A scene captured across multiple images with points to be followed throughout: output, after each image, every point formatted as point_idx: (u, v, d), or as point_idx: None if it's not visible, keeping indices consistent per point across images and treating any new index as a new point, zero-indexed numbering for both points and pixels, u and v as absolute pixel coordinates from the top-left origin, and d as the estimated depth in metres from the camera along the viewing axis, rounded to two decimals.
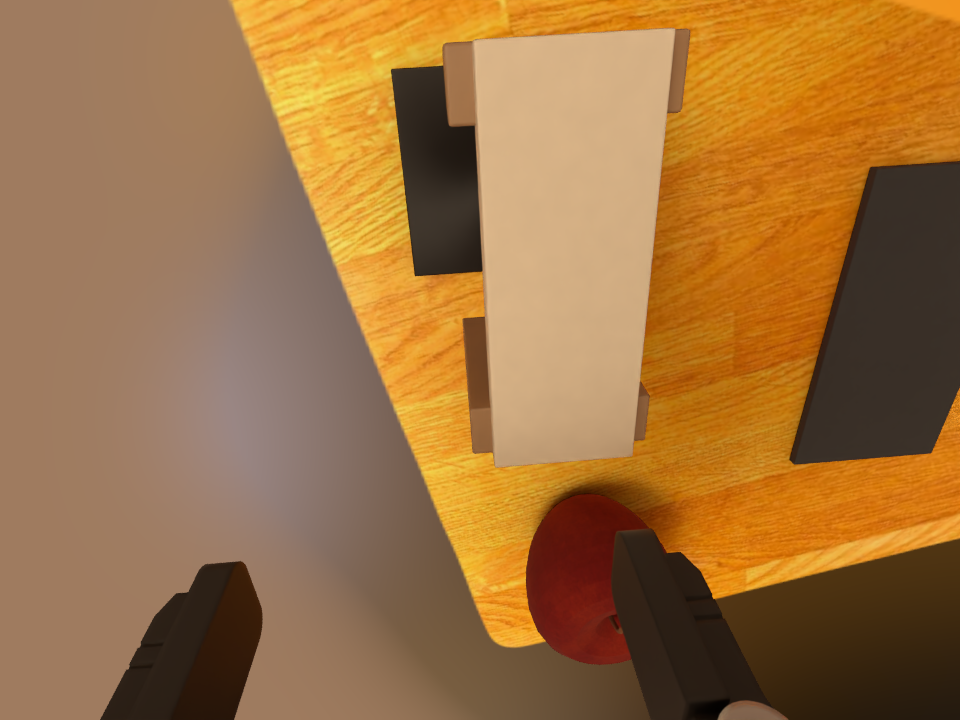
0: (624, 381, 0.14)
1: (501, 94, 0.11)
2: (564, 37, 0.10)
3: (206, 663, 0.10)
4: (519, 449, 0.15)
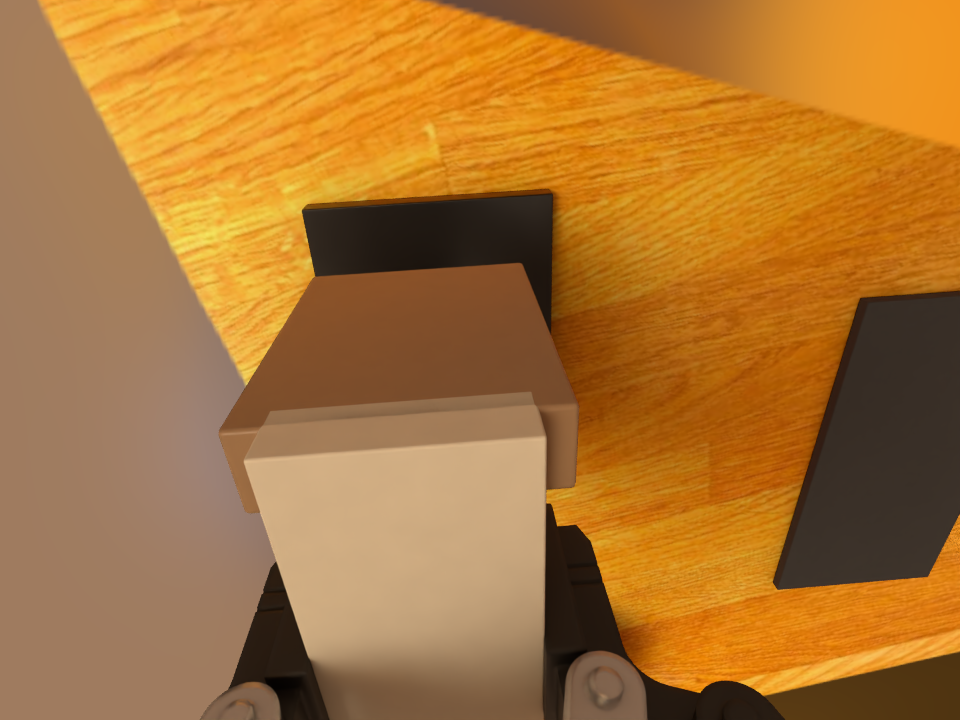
0: None
1: (297, 513, 0.07)
2: (378, 456, 0.07)
3: None
4: None
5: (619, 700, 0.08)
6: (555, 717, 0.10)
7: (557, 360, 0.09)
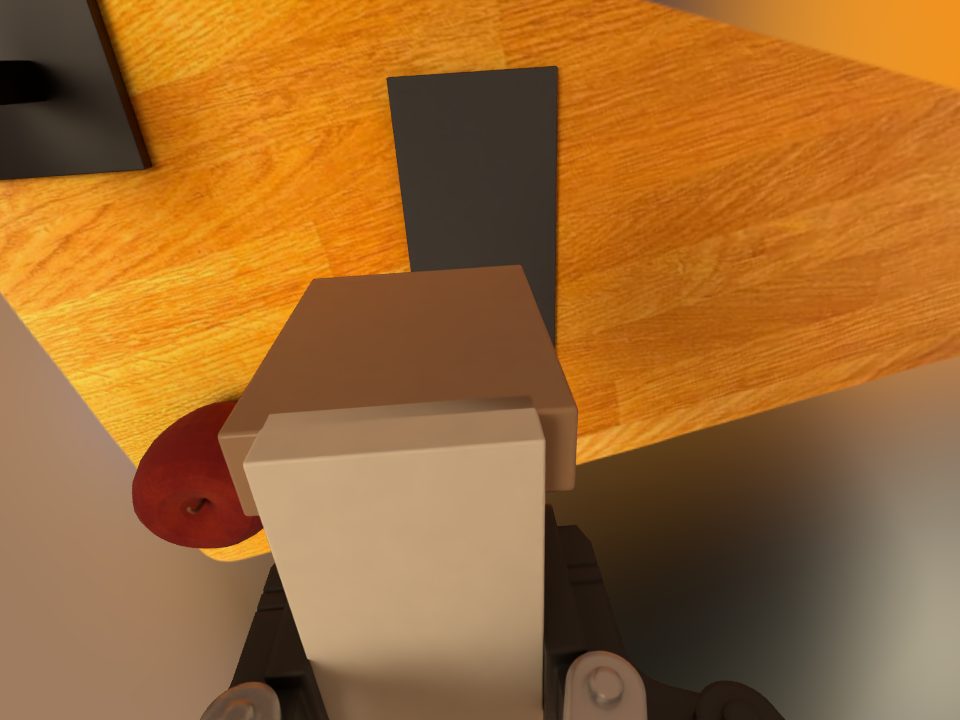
0: None
1: (296, 516, 0.08)
2: (377, 459, 0.07)
3: None
4: None
5: (619, 700, 0.08)
6: (555, 717, 0.10)
7: (556, 363, 0.09)
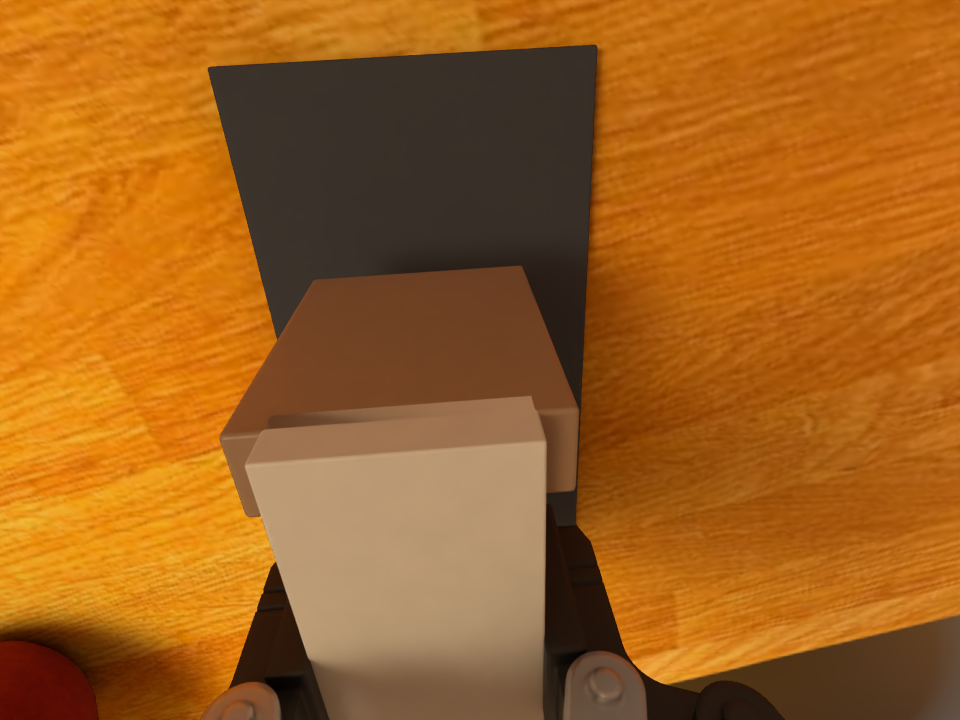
0: None
1: (298, 518, 0.08)
2: (379, 460, 0.07)
3: None
4: None
5: (619, 700, 0.08)
6: (555, 717, 0.10)
7: (557, 364, 0.09)
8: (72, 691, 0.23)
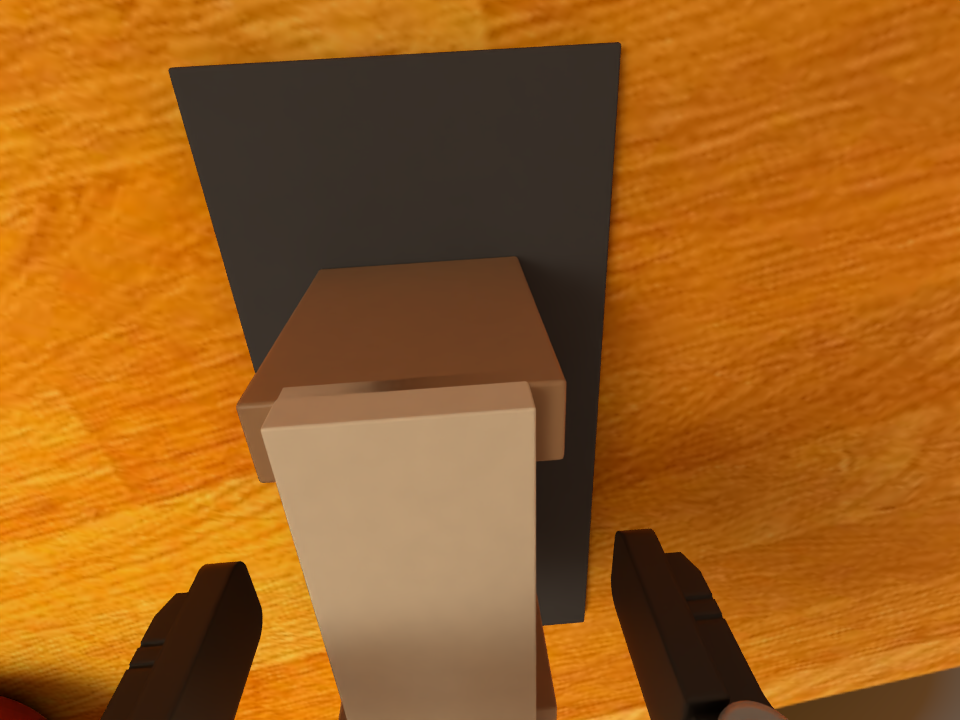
0: None
1: (308, 479, 0.08)
2: (382, 425, 0.08)
3: (207, 662, 0.10)
4: None
5: None
6: None
7: (547, 343, 0.10)
8: None
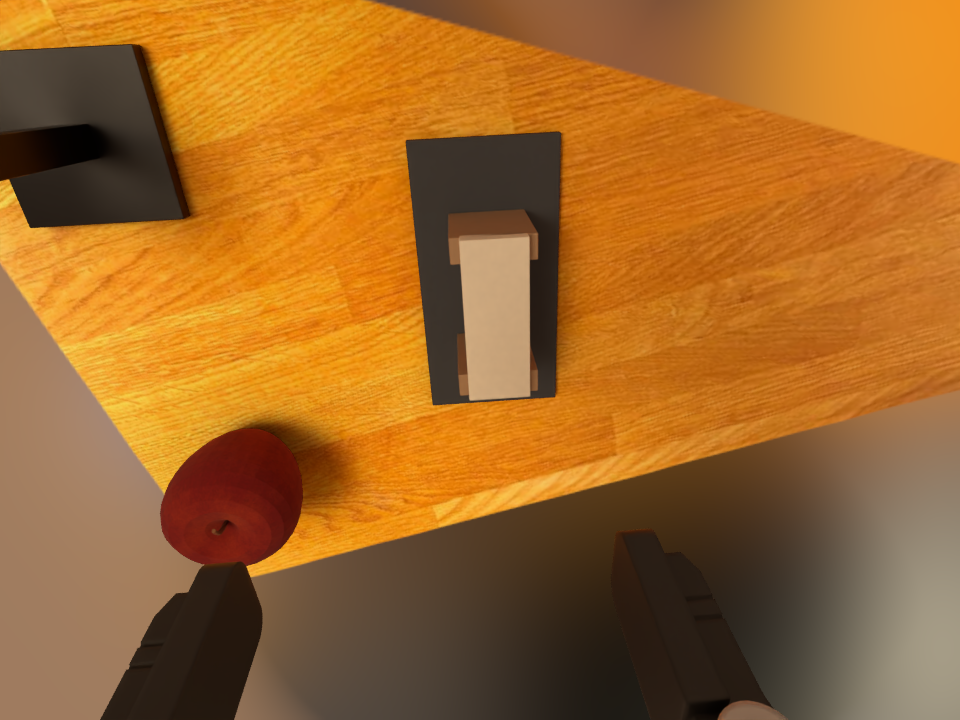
0: (523, 362, 0.34)
1: (469, 257, 0.31)
2: (490, 240, 0.30)
3: (207, 663, 0.10)
4: (479, 392, 0.35)
5: None
6: None
7: (533, 227, 0.32)
8: (291, 452, 0.43)
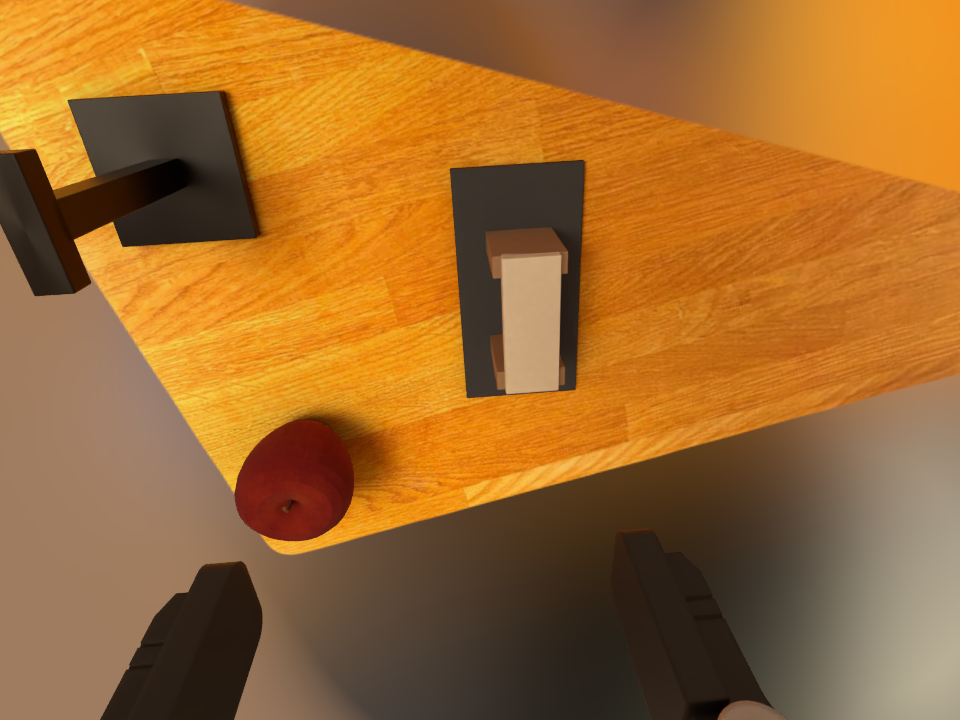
0: (553, 361, 0.40)
1: (509, 272, 0.36)
2: (528, 258, 0.36)
3: (207, 663, 0.10)
4: (515, 386, 0.41)
5: None
6: None
7: (563, 245, 0.38)
8: (342, 441, 0.49)
